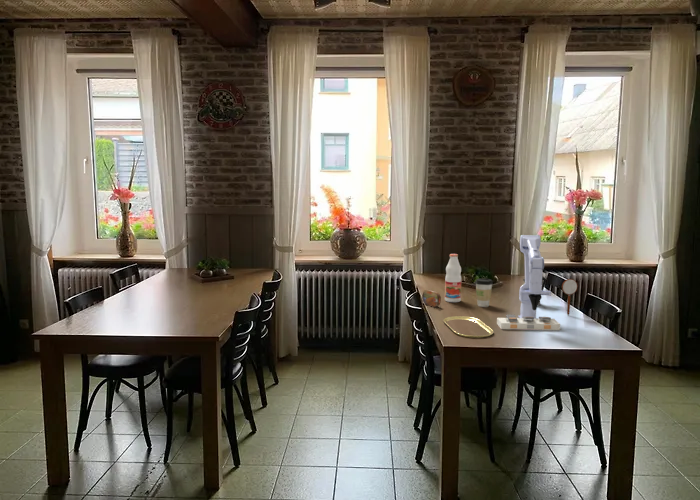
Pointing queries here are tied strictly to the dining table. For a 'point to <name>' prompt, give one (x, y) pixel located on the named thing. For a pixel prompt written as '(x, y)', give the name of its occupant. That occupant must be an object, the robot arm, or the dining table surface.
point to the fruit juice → (453, 280)
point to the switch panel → (528, 324)
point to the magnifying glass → (569, 290)
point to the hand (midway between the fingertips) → (534, 309)
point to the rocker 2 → (545, 318)
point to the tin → (431, 298)
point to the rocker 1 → (511, 317)
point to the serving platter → (471, 320)
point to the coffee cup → (483, 291)
